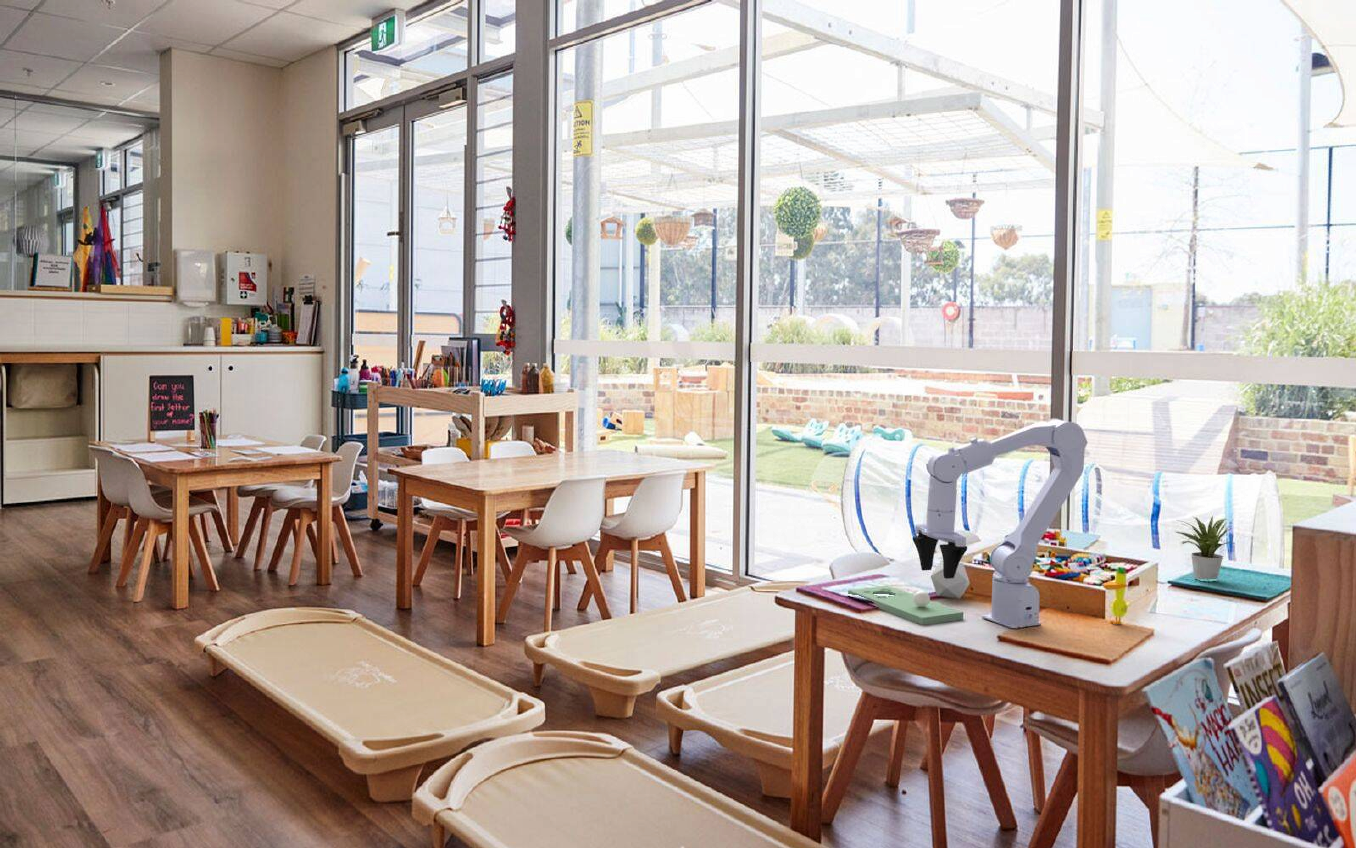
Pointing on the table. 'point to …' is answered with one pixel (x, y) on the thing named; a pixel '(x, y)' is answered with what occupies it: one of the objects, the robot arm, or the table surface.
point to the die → (950, 582)
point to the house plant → (1206, 549)
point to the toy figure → (1118, 594)
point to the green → (908, 605)
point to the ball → (921, 599)
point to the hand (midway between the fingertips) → (937, 574)
